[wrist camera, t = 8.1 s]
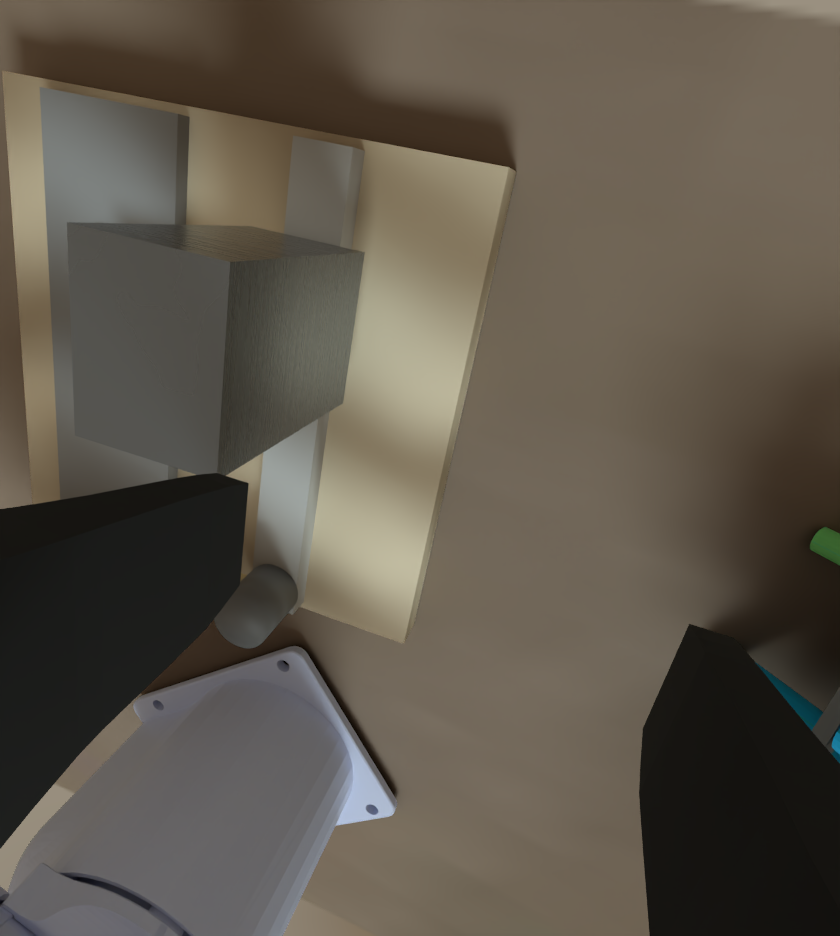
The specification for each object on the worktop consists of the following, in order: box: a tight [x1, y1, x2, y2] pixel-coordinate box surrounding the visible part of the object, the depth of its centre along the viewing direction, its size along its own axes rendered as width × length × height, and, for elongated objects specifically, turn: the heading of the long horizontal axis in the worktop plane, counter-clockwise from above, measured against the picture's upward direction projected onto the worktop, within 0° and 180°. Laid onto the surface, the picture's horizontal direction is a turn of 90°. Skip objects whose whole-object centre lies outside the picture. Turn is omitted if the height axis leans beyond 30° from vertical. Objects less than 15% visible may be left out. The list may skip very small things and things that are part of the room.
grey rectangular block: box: [67, 222, 365, 476], centre depth 14 cm, size 4×7×6 cm, turn 79°
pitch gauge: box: [2, 71, 516, 648], centre depth 19 cm, size 14×15×4 cm
